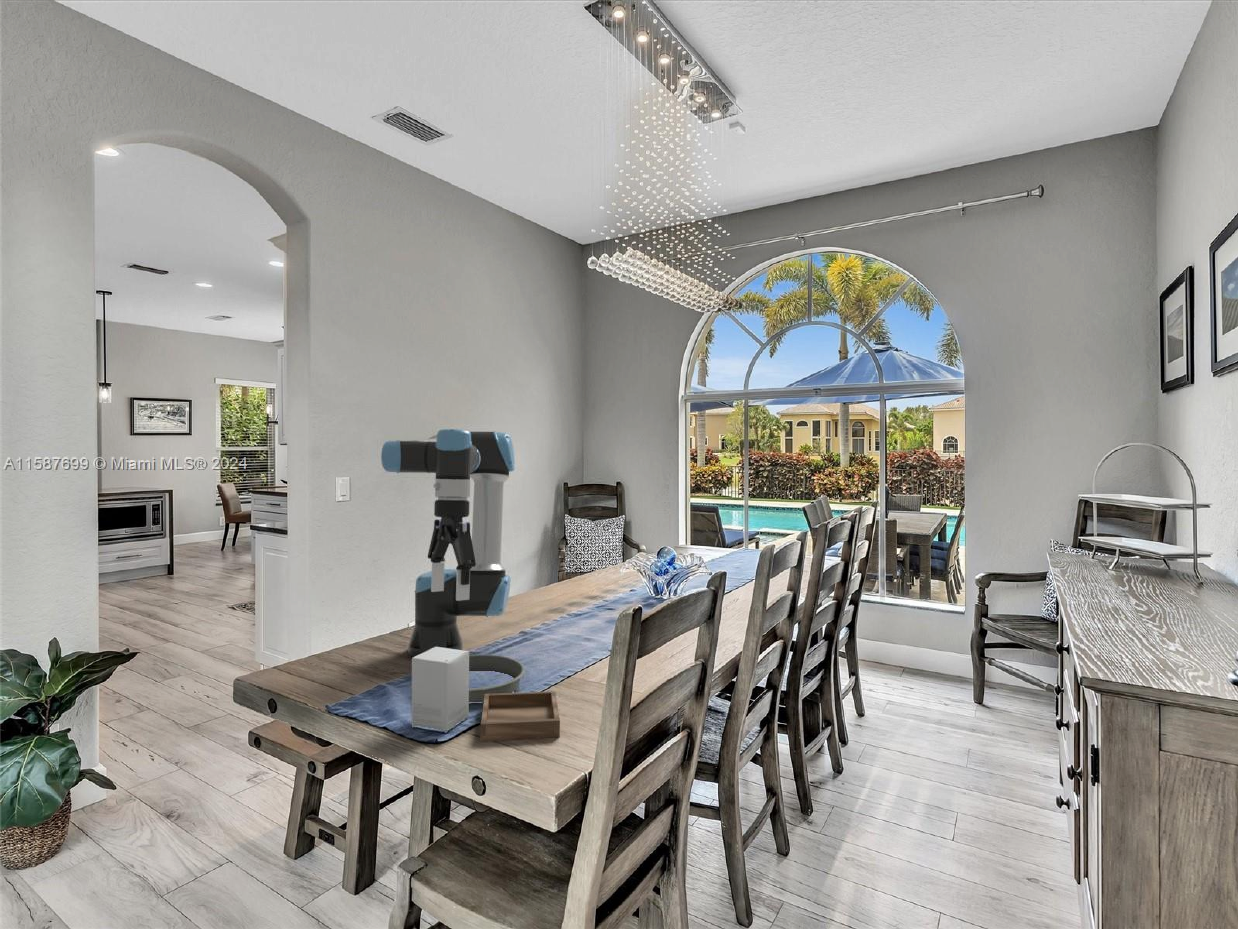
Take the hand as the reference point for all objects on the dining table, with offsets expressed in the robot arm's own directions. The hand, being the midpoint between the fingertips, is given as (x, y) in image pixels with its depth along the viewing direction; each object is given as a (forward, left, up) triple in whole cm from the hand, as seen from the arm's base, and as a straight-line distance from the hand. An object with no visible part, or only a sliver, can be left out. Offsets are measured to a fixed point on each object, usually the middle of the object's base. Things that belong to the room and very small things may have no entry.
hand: (449, 595), depth 140 cm
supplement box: (+3, -1, -27) cm, 27 cm away
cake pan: (-17, +5, -27) cm, 32 cm away
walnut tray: (+5, +16, -27) cm, 32 cm away
